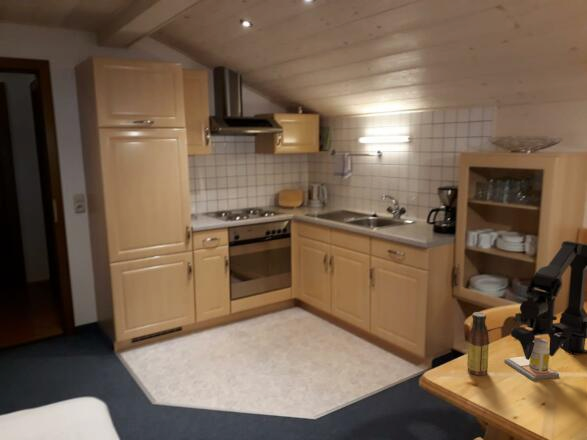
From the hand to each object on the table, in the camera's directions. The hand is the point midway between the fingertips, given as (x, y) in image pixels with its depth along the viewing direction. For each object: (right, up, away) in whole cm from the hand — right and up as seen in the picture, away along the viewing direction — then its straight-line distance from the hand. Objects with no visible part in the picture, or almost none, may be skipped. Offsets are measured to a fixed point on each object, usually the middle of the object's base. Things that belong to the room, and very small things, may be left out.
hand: (539, 357), depth 151 cm
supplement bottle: (0, -4, +1) cm, 4 cm away
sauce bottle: (-19, -5, +2) cm, 20 cm away
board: (-1, -5, +4) cm, 6 cm away
